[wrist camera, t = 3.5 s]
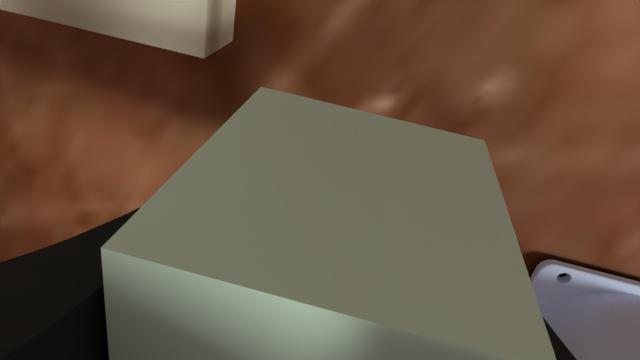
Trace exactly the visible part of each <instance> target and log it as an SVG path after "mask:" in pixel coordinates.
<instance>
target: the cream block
mask: <svg viewBox="0 0 640 360" xmlns="http://www.w3.org/2000/svg"><path fill="white" fill-rule="evenodd" d="M235 7H236V0H0V9H1V10H5V11H9V12H14V13H18V14H22V15H26V16H30V17H34V18H38V19H43V20H47V21H51V22H55V23H59V24H63V25H67V26H72V27H76V28H80V29H84V30H88V31H92V32H96V33H101V34H105V35H109V36H113V37H117V38H121V39H125V40H130V41H134V42H138V43H142V44H146V45H150V46H154V47H159V48H163V49H167V50H171V51H175V52H179V53H183V54H188V55H192V56H196V57H200V58H206V57H207V56H209V55H211V54H212V53H214V52H215V51H217V50H219V49H220V48H222V47H224V46H225V45H227V44H229V43H230V42H232V41H233V30H234V19H235Z"/></svg>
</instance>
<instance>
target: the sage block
mask: <svg viewBox="0 0 640 360" xmlns="http://www.w3.org/2000/svg"><path fill="white" fill-rule="evenodd" d="M101 258H102V271H103V285H104V298H105V312H106V325H107V339H108V352H109V360H556V357H555V354H554V350H553V347H552V344H551V341H550V338H549V335H548V332H547V329H546V326H545V323H544V320H543V317H542V314H541V311H540V308H539V305H538V302H537V299H536V296H535V293H534V290H533V287H532V284H531V281H530V278H529V274H528V271H527V268H526V265H525V262H524V259H523V256H522V253H521V250H520V247H519V244H518V241H517V238H516V235H515V232H514V229H513V226H512V223H511V220H510V217H509V214H508V211H507V208H506V205H505V201H504V198H503V195H502V192H501V189H500V186H499V183H498V180H497V177H496V174H495V171H494V168H493V165H492V162H491V159H490V156H489V153H488V150H487V147H486V144H485V141H484V140H480V139H476V138H472V137H468V136H464V135H460V134H455V133H451V132H447V131H443V130H439V129H435V128H431V127H426V126H422V125H418V124H414V123H410V122H406V121H402V120H397V119H393V118H389V117H385V116H381V115H377V114H373V113H368V112H364V111H360V110H356V109H352V108H348V107H343V106H339V105H335V104H331V103H327V102H323V101H319V100H314V99H310V98H306V97H302V96H298V95H294V94H290V93H285V92H281V91H277V90H273V89H269V88H265V87H260V88H259V89H258V90H257V91H256V92H255V93H254V94H253V95H252V96H251V97H250V98H249V99H248V100H247V101H246V102H245V103H244V104H243V105H242V106H241V107H240V108H239V109H238V110H237V111H236V112H235V113H234V114H233V115H232V116H231V117H230V118H229V119H228V120H227V121H226V122H225V123H224V124H223V125H222V126H221V127H220V128H219V129H218V130H217V131H216V132H215V133H214V134H213V135H212V136H211V137H210V138H209V139H208V140H207V142H206V143H205V144H204V145H203V146H202V147H201V148H200V149H199V150H198V151H197V152H196V153H195V154H194V155H193V156H192V157H191V158H190V159H189V160H188V161H187V162H186V163H185V164H184V165H183V166H182V167H181V168H180V169H179V170H178V171H177V172H176V173H175V174H174V175H173V176H172V177H171V178H170V179H169V180H168V181H167V182H166V183H165V184H164V185H163V186H162V187H161V188H160V189H159V190H158V191H157V192H156V193H155V194H154V195H153V196H152V197H151V198H150V199H149V200H148V201H147V202H146V203H145V204H144V205H143V206H142V207H141V208H140V209H139V210H138V211H137V212H136V213H135V214H134V215H133V216H132V217H131V218H130V219H129V220H128V221H127V222H126V223H125V224H124V225H123V226H122V227H121V228H120V229H119V230H118V231H117V232H116V233H115V234H114V235H113V236H112V237H111V238H110V239H109V240H108V241H107V242H106V243H105V244H104V245H103V246H102V247H101Z"/></svg>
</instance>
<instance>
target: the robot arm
mask: <svg viewBox="0 0 640 360" xmlns="http://www.w3.org/2000/svg"><path fill="white" fill-rule="evenodd" d="M140 208H141V207H140ZM140 208H138V209H136V210H134V211H132V212H130V213H128V214H126V215H123V216H121V217H119V218H117V219H114V220H112V221H110V222H107V223H105V224H103V225H100V226H98V227H96V228H93V229H91V230H89V231H86V232H84V233H82V234H79V235H77V236H75V237H72V238H70V239H67V240H65V241H62V242H59V243H57V244H54V245H51V246H49V247H46V248H43V249H40V250H37V251H34V252H31V253H28V254H26V255H23V256H20V257H17V258H14V259H11V260H8V261H4V262H1V263H0V360H109V352H108V339H107V325H106V312H105V298H104V285H103V271H102V258H101V247H102V246H103V245H104V244H105V243H106V242H107V241H108V240H109V239H110V238H111V237H112V236H113V235H114V234H115V233H116V232H117V231H118V230H119V229H120V228H121V227H122V226H123V225H124V224H125V223H126V222H127V221H128V220H129V219H130V218H131V217H132V216H133V215H134V214H135V213H136V212H137V211H138V210H139V209H140ZM562 273H568V274H567V275H566V276H564V277H558V275H559V274H562ZM530 281H531V284H532V287H533V290H534V293H535V296H536V299H537V302H538V305H539V308H540V311H541V314H542V317H543V320H544V323H545V326H546V329H547V332H548V335H549V338H550V341H551V344H552V347H553V350H554V354H555V357H556V360H640V282H638V281H634V280H631V279H627V278H623V277H619V276H615V275H611V274H607V273H603V272H599V271H596V270H592V269H588V268H584V267H580V266H576V265H572V264H568V263H564V262H560V261H557V260H550V259H549V260H544V261H542V262H540V263H539V264H538V265H537V267H536V268H535V270H534V272H533V274H532V276H531V277H530Z"/></svg>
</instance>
